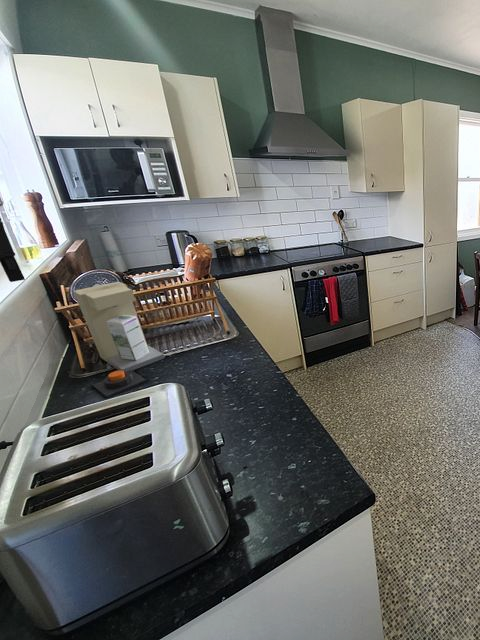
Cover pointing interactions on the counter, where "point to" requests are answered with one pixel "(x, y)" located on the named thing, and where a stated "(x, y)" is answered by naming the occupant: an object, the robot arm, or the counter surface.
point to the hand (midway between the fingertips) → (17, 280)
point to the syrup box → (128, 337)
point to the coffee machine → (103, 307)
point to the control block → (119, 384)
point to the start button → (116, 375)
